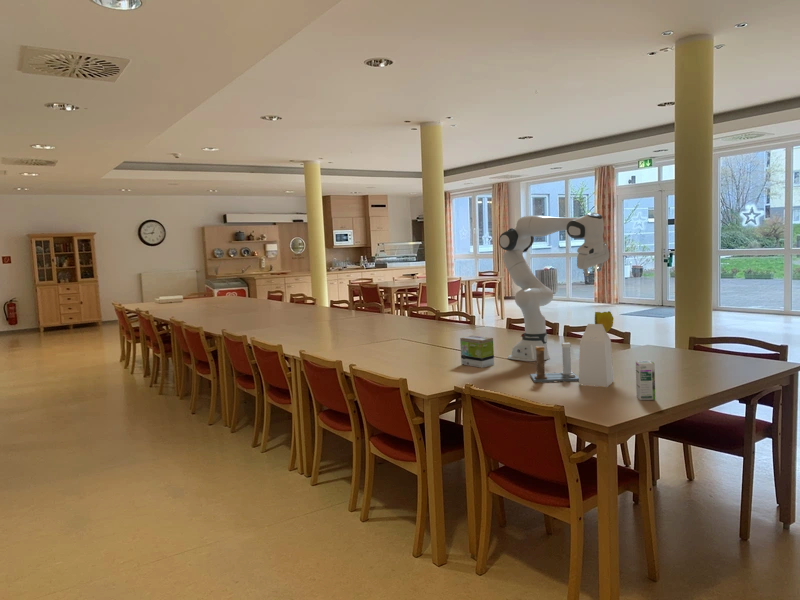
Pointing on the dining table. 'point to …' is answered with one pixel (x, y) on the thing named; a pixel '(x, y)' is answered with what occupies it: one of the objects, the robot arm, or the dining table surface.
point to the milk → (595, 357)
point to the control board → (555, 377)
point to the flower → (604, 319)
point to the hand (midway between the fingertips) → (593, 273)
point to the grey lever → (566, 359)
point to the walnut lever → (540, 363)
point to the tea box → (477, 351)
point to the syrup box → (645, 380)
